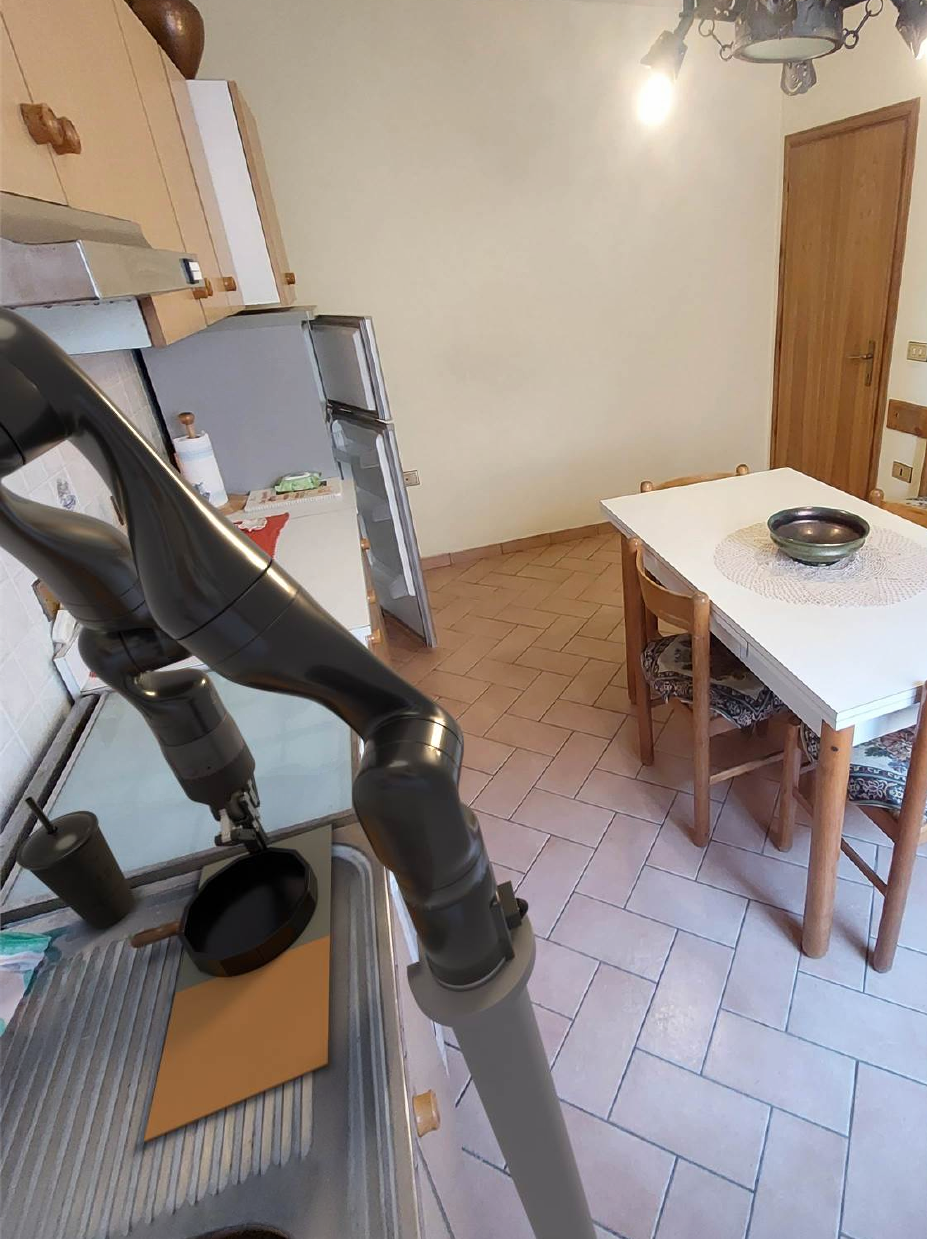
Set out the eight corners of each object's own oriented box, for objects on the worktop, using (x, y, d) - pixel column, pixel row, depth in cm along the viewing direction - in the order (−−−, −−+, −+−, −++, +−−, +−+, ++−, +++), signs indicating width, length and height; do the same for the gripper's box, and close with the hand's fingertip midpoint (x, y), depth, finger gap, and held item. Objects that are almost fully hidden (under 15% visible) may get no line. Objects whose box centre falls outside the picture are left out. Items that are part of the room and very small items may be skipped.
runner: (331, 825, 91) (331, 823, 90) (327, 1064, 65) (326, 1063, 65) (203, 868, 86) (202, 866, 86) (145, 1142, 60) (143, 1141, 60)
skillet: (320, 850, 87) (312, 832, 85) (315, 948, 75) (305, 929, 73) (157, 904, 82) (144, 886, 80) (124, 1018, 70) (108, 1000, 68)
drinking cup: (60, 944, 79) (-35, 831, 69) (102, 885, 85) (20, 775, 76) (123, 938, 79) (37, 824, 69) (160, 880, 85) (86, 769, 76)
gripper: (234, 783, 72) (287, 880, 80) (249, 705, 82) (293, 798, 91) (157, 805, 70) (219, 903, 78) (182, 723, 81) (234, 817, 89)
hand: (259, 846), depth 85 cm, fingers closed
